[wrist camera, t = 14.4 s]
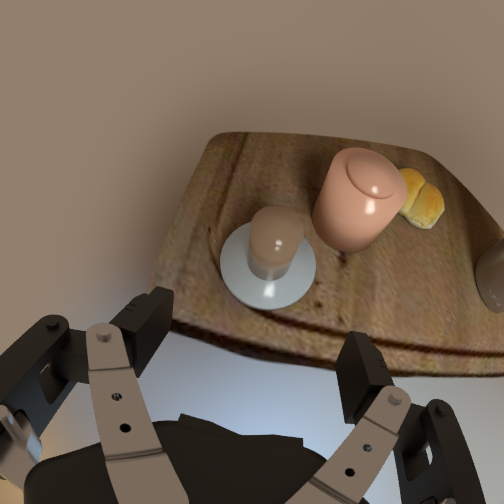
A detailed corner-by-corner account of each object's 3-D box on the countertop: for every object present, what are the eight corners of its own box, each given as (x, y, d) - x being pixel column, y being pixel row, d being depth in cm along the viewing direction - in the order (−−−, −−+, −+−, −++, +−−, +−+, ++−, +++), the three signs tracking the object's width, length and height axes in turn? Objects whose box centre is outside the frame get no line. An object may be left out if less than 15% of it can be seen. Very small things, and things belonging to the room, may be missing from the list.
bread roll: (399, 169, 37) (410, 151, 33) (442, 210, 34) (456, 195, 30) (373, 194, 34) (385, 174, 30) (421, 241, 31) (438, 225, 28)
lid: (277, 216, 31) (289, 167, 24) (327, 282, 28) (357, 246, 21) (204, 254, 28) (195, 209, 21) (252, 330, 25) (260, 309, 18)
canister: (346, 185, 34) (370, 134, 26) (387, 233, 31) (424, 188, 23) (297, 210, 31) (316, 155, 24) (342, 265, 29) (377, 221, 21)
